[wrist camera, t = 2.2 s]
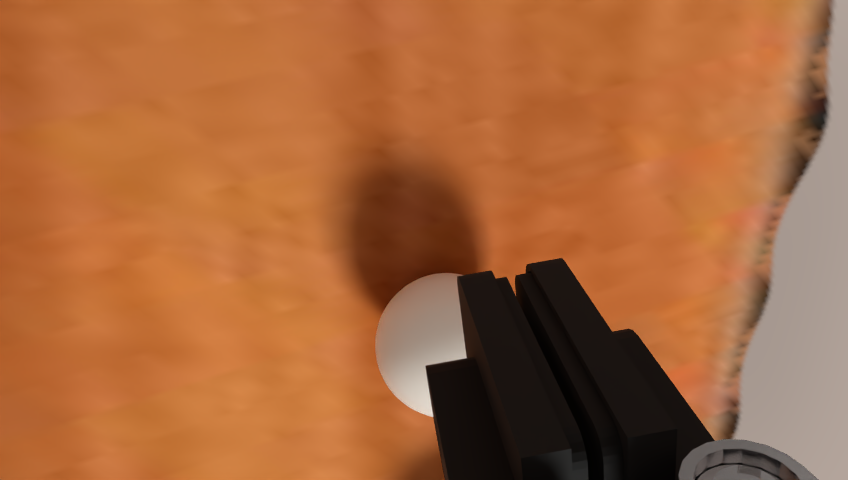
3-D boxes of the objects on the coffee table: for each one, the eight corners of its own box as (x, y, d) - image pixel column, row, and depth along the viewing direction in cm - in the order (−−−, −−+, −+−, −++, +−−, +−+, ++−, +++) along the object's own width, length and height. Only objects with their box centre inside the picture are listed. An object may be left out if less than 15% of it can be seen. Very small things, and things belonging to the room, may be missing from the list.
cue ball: (360, 261, 27) (367, 339, 22) (495, 237, 27) (531, 309, 22) (382, 370, 29) (393, 462, 24) (505, 348, 30) (540, 434, 25)
